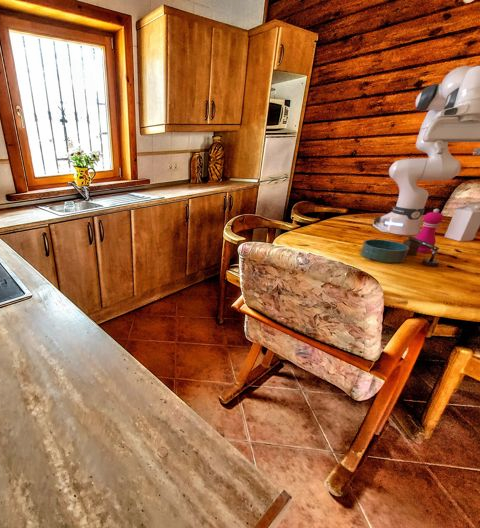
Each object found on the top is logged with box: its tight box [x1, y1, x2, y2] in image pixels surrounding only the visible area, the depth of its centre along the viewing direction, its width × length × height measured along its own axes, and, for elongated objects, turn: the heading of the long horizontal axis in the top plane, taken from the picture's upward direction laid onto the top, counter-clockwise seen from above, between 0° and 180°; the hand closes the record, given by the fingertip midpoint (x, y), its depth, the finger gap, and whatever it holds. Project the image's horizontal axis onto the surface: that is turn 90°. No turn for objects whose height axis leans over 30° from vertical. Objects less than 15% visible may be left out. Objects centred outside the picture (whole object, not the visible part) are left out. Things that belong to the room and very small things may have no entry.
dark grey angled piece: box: [407, 235, 440, 268], centre depth 120 cm, size 17×5×8 cm, turn 170°
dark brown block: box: [402, 238, 420, 257], centre depth 126 cm, size 4×4×6 cm
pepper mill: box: [414, 208, 444, 254], centre depth 126 cm, size 7×7×20 cm
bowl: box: [360, 239, 409, 264], centre depth 124 cm, size 15×15×6 cm
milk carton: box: [443, 200, 480, 242], centre depth 138 cm, size 7×7×19 cm
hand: (457, 154), depth 99 cm, fingers open, 8 cm apart
